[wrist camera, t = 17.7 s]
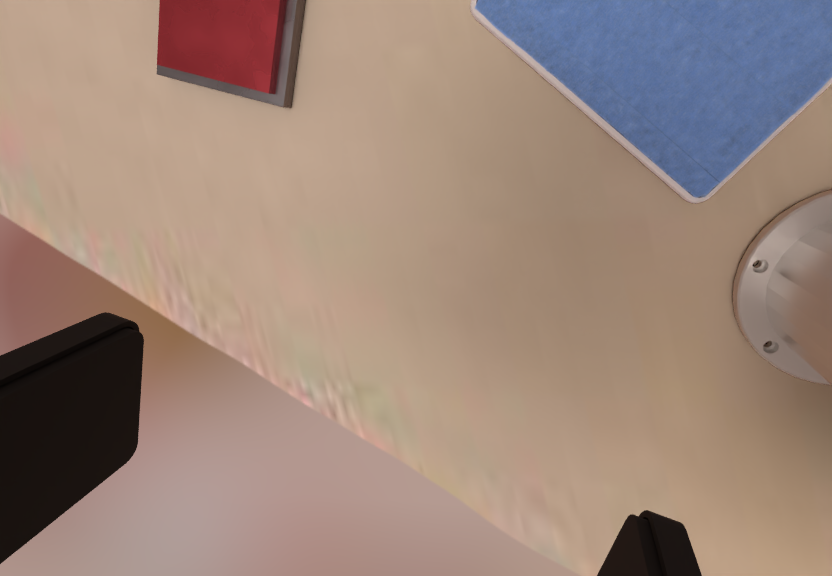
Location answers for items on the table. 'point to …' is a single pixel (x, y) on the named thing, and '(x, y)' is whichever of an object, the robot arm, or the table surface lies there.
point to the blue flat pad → (676, 73)
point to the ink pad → (232, 45)
